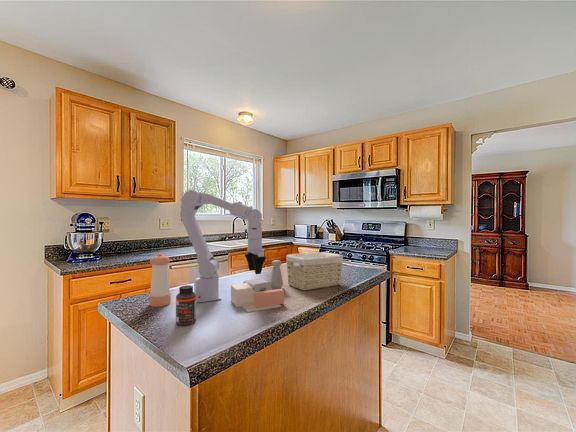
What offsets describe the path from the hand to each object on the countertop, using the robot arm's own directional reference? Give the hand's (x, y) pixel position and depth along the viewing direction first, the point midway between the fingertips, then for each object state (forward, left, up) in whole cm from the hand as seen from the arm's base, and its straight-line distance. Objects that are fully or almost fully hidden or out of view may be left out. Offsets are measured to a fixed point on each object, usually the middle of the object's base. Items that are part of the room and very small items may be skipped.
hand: (255, 272), depth 112 cm
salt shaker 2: (+13, +8, -11) cm, 19 cm away
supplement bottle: (-28, -15, -11) cm, 33 cm away
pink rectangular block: (+1, -12, -10) cm, 16 cm away
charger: (+3, +11, -11) cm, 16 cm away
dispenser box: (-6, -4, -10) cm, 13 cm away
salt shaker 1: (-35, +9, -11) cm, 38 cm away
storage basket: (+32, +6, -11) cm, 34 cm away
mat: (-2, -12, -10) cm, 16 cm away
